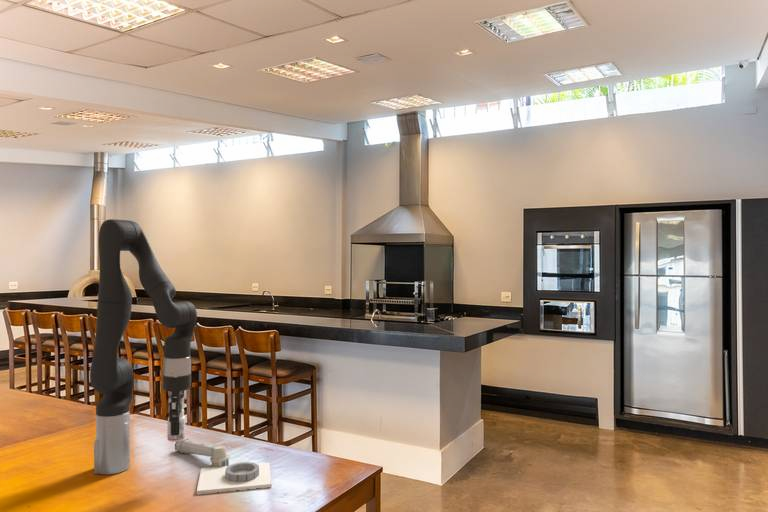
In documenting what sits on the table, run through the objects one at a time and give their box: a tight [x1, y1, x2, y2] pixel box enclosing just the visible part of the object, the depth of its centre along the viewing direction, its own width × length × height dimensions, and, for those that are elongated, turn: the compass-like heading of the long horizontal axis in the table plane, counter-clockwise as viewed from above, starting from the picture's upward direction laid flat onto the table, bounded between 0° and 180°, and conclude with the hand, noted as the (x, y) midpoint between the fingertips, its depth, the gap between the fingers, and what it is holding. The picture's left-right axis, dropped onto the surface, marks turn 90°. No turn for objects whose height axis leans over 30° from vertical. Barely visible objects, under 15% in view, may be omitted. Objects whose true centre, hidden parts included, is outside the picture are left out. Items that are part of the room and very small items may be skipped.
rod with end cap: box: [174, 438, 231, 467], centre depth 180 cm, size 5×7×25 cm
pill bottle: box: [167, 408, 186, 443], centre depth 161 cm, size 5×5×8 cm
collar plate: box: [196, 461, 273, 495], centre depth 164 cm, size 20×16×3 cm
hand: (176, 431), depth 161 cm, fingers closed on pill bottle, 4 cm apart
